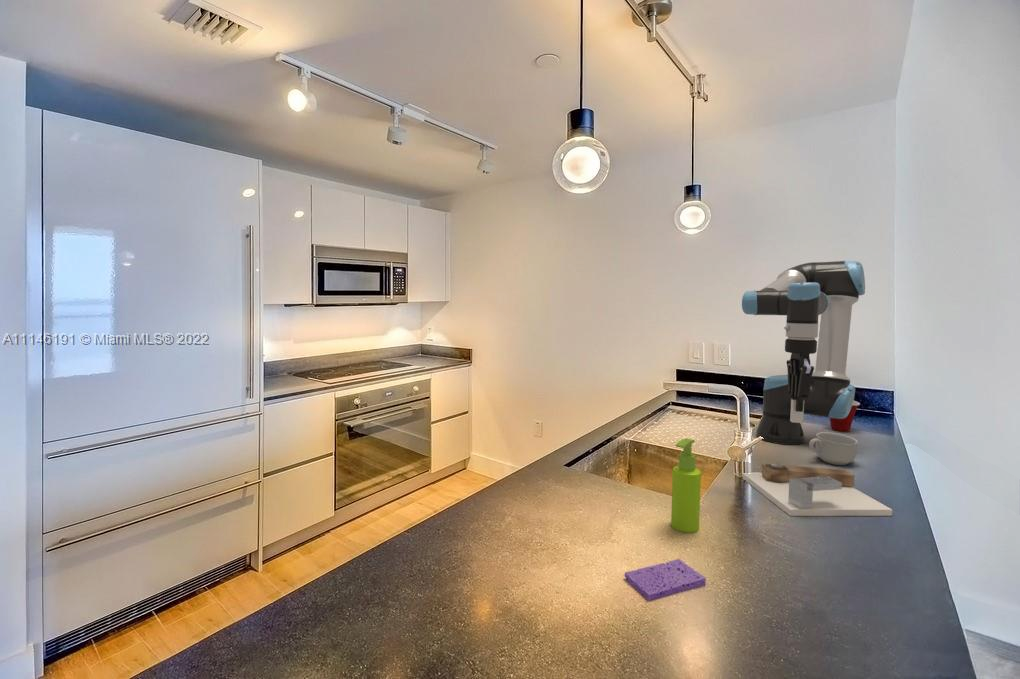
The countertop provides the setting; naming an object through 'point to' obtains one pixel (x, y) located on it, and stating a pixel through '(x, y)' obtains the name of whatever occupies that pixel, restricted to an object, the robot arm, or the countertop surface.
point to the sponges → (664, 579)
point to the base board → (819, 499)
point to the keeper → (809, 489)
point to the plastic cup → (844, 420)
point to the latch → (804, 473)
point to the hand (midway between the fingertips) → (796, 421)
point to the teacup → (834, 447)
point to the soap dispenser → (686, 490)
